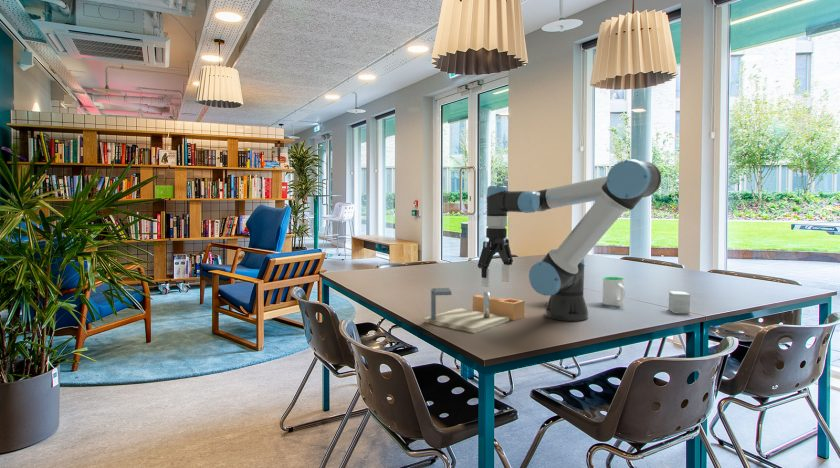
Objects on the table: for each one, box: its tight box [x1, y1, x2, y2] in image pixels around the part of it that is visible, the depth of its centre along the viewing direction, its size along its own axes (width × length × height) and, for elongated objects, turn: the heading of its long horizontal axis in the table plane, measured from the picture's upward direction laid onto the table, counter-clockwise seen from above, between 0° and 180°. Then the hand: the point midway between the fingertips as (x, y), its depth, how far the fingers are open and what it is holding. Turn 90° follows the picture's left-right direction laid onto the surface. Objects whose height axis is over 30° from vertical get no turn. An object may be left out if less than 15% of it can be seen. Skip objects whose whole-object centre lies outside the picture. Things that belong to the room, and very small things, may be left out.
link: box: [472, 294, 526, 321], centre depth 193 cm, size 20×7×6 cm, turn 49°
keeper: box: [430, 287, 452, 320], centre depth 181 cm, size 7×7×10 cm
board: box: [423, 307, 510, 334], centre depth 183 cm, size 22×21×2 cm
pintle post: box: [483, 291, 491, 318], centre depth 182 cm, size 2×2×9 cm
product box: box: [667, 290, 691, 314], centre depth 196 cm, size 6×6×7 cm
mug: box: [602, 276, 626, 307], centre depth 209 cm, size 12×8×10 cm
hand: (495, 284), depth 193 cm, fingers open, 13 cm apart
